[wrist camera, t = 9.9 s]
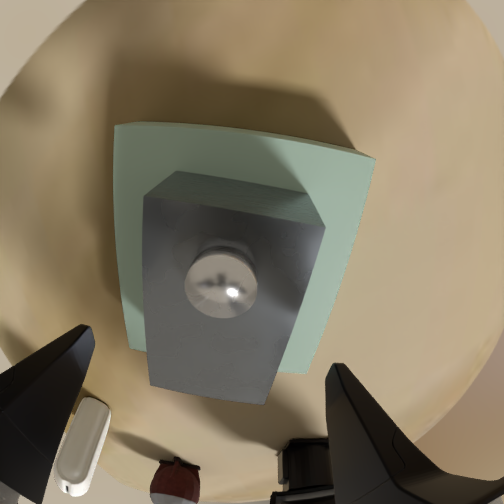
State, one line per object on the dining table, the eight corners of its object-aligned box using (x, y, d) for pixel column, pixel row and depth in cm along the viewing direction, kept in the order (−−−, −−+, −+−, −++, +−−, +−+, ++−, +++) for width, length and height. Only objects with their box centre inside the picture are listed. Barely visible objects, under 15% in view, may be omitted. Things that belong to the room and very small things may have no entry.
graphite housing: (264, 352, 17) (263, 417, 13) (167, 335, 17) (146, 396, 13) (308, 193, 13) (331, 237, 9) (175, 170, 13) (134, 203, 8)
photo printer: (107, 434, 32) (84, 504, 21) (80, 420, 31) (53, 490, 20) (115, 406, 27) (84, 497, 16) (82, 390, 26) (44, 477, 15)
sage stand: (356, 149, 15) (375, 159, 12) (302, 343, 21) (306, 373, 18) (139, 121, 14) (114, 125, 12) (142, 320, 21) (129, 348, 18)
